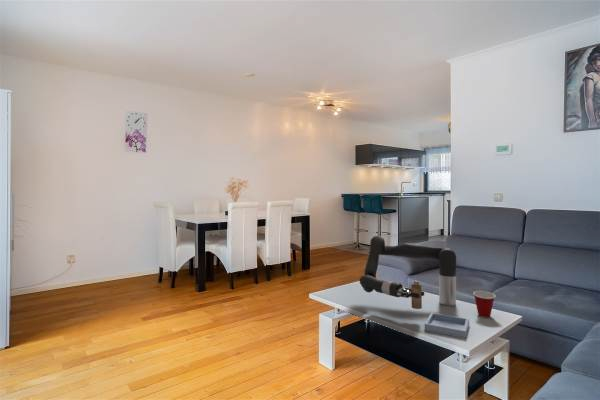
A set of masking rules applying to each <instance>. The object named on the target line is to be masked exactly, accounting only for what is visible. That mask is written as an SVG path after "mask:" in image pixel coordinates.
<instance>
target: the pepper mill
mask: <svg viewBox="0 0 600 400" xmlns="http://www.w3.org/2000/svg"><path fill="white" fill-rule="evenodd" d="M410 284H411V286H410V287H411V292H412V293H417V294H419V298H414V297H411V308H412V309H415V310H421V309H422V308H423V304H422V301H423V300H422V299H423V298H422V297H423V296H422V291H423V289H422V283H421V284H420V281H419V280H414V281H413V283H410Z"/></svg>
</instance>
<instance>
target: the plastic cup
mask: <svg viewBox="0 0 600 400" xmlns="http://www.w3.org/2000/svg"><path fill="white" fill-rule="evenodd" d="M472 293H473V294H472V295H473V296H474V301H475V306H476V310H477V314H478V316H480V317H483V318H490V317H491V316H492V309H493V306H494V305H493V304H494V300H495V299H496V297H497V296H496V294H494V293H493V292H489V291H487V290H486V291H484V290H476V291H473V292H472Z"/></svg>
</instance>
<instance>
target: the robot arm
mask: <svg viewBox="0 0 600 400" xmlns="http://www.w3.org/2000/svg"><path fill="white" fill-rule="evenodd" d="M369 244H370V247H369V253H368V258H367V261H366V264H365V268H364V271H363V273H364V275H362V276H361V277H360V278H359V284H360V286H361V287H362V289H363V290H364V291H365V292H366V293H372V292H374V291H375V292H376V293H379V294H384V295H387V296H391V297H395V298H400V297H401V298H407V299H409V298H412V297H414V298H419V294H417V293H412V292H411V286H408V287H407V286H403V285H402V283H400V282H394V281H390V280H389V281H386V280H381V279H378V278H377V272H378V266H379V259H380V256H394V257H402V258H407V259H415V260H422V259H423V260H424V259H425V260H426V259H431V260H436V261H438V262H439V263H438V267H439V268H438V270H439V271H438V273H439V274H438V276H439V277H438V279H439V282H438V285H439V286H438V289H439V290H438V293H439V294H438V297H439V298H438V301H439V304H441V305H442V306H448V307H449V306H450V307H451V306H452V307H453V306H456V305H457V304H456V303H457V255H456V252H455V251H454V249H452V248H449V247H438V246H437V247H434V246H428V245H424V244H423V245H422V244H419V243H412V242H403V243H400V244H397V245H387V244H386V241H385V239H384V237H383V236H381V235H375V236H372V238H371V239H370V242H369ZM424 296H425V291H423V290H422V297H424Z"/></svg>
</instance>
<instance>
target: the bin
mask: <svg viewBox="0 0 600 400" xmlns="http://www.w3.org/2000/svg"><path fill="white" fill-rule="evenodd" d="M469 326H470V319H469V318H467V317H460V316H454V315H449V314H444V313H443V314H442V313H438V312H430V314H429V316H428V318H427V319H426V321H425V322H424V331H428V332H432V333H438V334H442V335H449V336H453V337H459V338H463V339H466V338H467V335H468V330H469Z"/></svg>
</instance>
